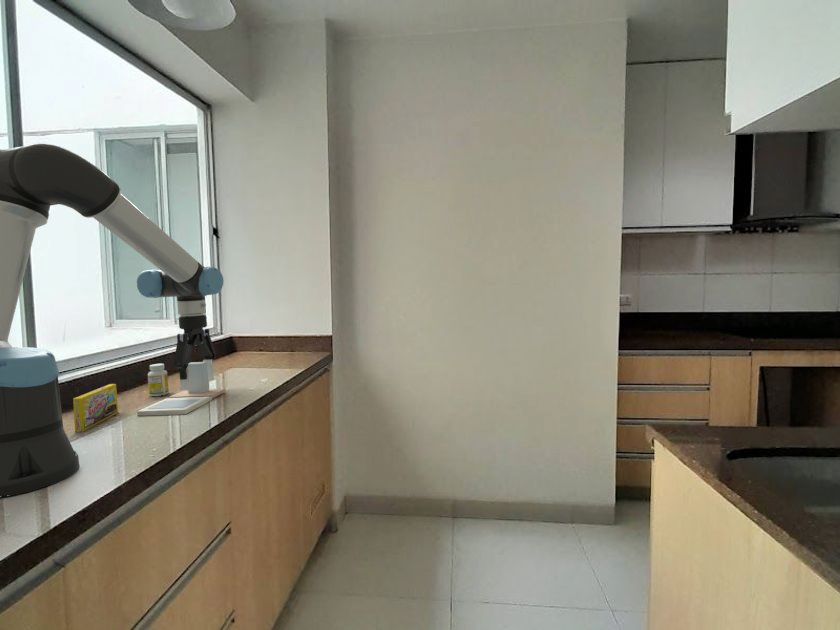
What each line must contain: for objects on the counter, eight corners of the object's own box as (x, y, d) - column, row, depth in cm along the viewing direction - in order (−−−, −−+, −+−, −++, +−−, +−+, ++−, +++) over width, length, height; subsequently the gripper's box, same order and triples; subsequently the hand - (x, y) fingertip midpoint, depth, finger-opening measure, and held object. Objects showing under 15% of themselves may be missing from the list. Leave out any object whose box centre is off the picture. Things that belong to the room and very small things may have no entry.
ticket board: (185, 414, 117) (185, 409, 117) (137, 415, 118) (136, 410, 118) (211, 399, 131) (211, 395, 131) (168, 401, 132) (168, 396, 132)
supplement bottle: (156, 397, 137) (153, 366, 137) (145, 396, 140) (142, 365, 139) (172, 393, 142) (170, 363, 141) (162, 391, 145) (159, 362, 144)
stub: (212, 398, 132) (209, 365, 131) (169, 400, 132) (166, 366, 131) (225, 391, 140) (222, 360, 139) (184, 393, 140) (181, 361, 139)
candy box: (84, 432, 106) (80, 398, 106) (74, 433, 106) (70, 398, 105) (119, 412, 122) (116, 383, 122) (111, 413, 122) (108, 383, 121)
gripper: (181, 318, 122) (188, 394, 124) (223, 311, 147) (228, 375, 148) (154, 319, 122) (161, 395, 124) (201, 312, 147) (206, 376, 149)
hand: (198, 384), depth 136 cm, fingers open, 12 cm apart
